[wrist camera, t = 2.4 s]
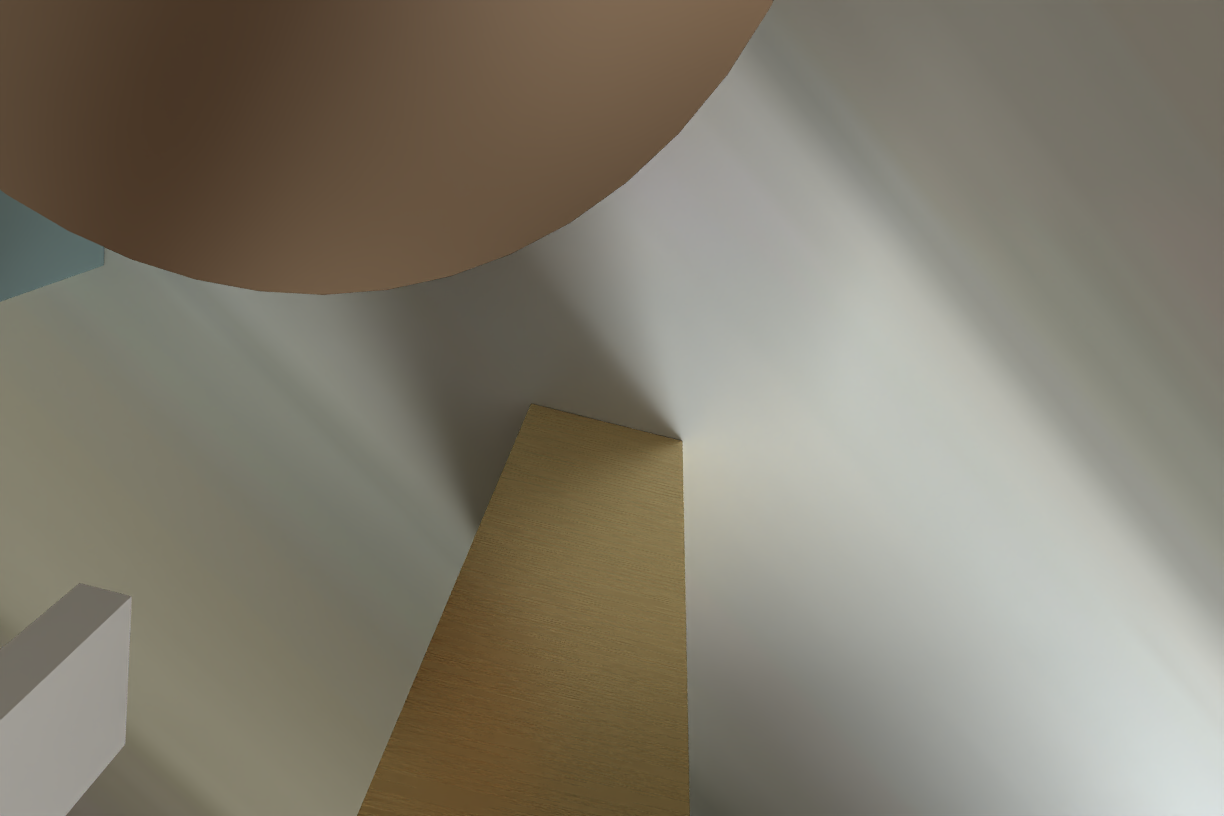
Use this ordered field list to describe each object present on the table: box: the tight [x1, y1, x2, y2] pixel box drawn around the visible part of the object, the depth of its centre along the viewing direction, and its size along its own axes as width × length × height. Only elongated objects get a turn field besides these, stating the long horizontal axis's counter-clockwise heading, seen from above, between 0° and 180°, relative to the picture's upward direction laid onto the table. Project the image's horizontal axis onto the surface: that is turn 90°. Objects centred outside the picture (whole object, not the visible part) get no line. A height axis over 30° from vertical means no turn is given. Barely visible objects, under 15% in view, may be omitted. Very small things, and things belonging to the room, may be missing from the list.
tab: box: [357, 404, 690, 816], centre depth 15 cm, size 4×4×12 cm
